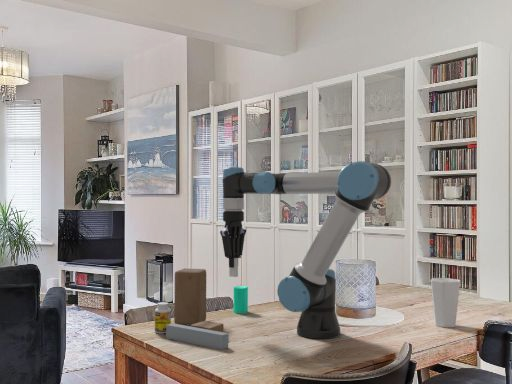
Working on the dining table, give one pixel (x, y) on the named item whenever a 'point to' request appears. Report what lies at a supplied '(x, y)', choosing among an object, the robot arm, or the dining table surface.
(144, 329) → the dining table surface
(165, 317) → the supplement bottle
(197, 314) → the wooden block
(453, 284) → the cup
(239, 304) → the candle
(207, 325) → the walnut block
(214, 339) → the board
